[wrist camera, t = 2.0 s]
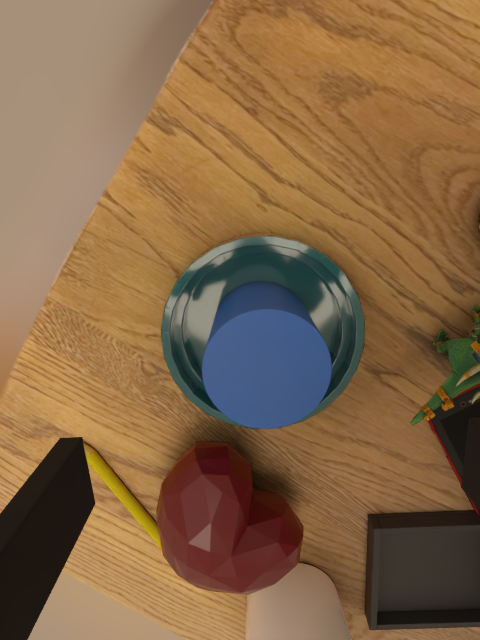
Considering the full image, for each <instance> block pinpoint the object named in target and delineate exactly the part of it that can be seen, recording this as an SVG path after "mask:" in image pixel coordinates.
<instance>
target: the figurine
mask: <svg viewBox="0 0 480 640" xmlns="http://www.w3.org/2000/svg"><path fill="white" fill-rule="evenodd" d="M476 308H477V304H476V305H474V308H473V312H472V314H473V317H472V320H473V322H475V324H479V325H476V326H475V327H474V328H473V330H472V332H471V334H470V335H469V337H468V338H453V339H450V340H448V341H446V342H445V343H444V341H445V340H447V339H449V336H446V335H447V332H444V331H443V329H441V330H440V331H439V333H438V335H437V342H434V343H433V345H435V346H436V345H437V349H438V353H443V352H448V356H444V358H445V359H449V362H450V365H451V367H452V369H453V370H452V372H451V374H450V376H449V378H448V379H447V380H446V381H445V383H444V384H443V385H442V386H439V387H438V388H437V390H436V393H435V394H434V396H433V397H432V398H431V399H430V400H429V402H428V403H427V404H426V405H424V406H423V407H422V408H421V410H420V411H419V412H418V414H417V415H416V416H415V417H414V418H413V420H412V421H411V423H410V424H411V425H414V424H417V423H419V422H420V421H421V420H423V419H424V418H425V419H426V420H427V421H428V420H430V419H432V418H433V417H434V416H435V414H434V413H433V412H432V411H434V410H435V409H437V408H438V407H439V406H442V408H443V409H444V410H445V411H446V410H447V409H449V408H452V407H454V404H453V401H452V398H454V397H455V396H457V395H458V394H459V393H461V392H463V391H465V390H466V389H469V388H471V387H473V386H475V385H478V384H480V316H479V315H478V313H479V312H480V308H478V309H477V310H476ZM443 332H444V333H443ZM442 333H443V334H442ZM444 336H446V337H444ZM479 396H480V390H479V391H478V392H476V394H475V395H474V397H473V401H472V403H473V402H474V401H475V400H476V399H477V398H478V397H479ZM444 403H445V405H444Z"/></svg>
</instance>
